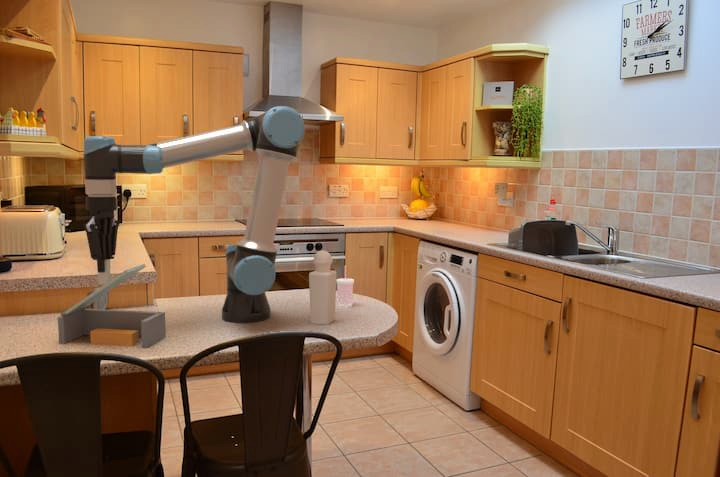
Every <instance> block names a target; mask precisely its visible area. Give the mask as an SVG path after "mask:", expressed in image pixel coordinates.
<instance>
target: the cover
mask: <svg viewBox="0 0 720 477" xmlns="http://www.w3.org/2000/svg"><path fill="white" fill-rule="evenodd" d="M146 267H147V266H146V264H145V263H144V264H143V263H142V264H140V265H137V266H134V267H130V268H127V269H126V270H123V271H122V272H121V273H119V274H118V275H116V276H115V277H113V278H111V281H109V282H108V283H106V284H102V285H101V286H102V287H100V288H99V289H97V290H96V291H94V292H93V293H91V294H90V295H89V296H87V295H86V296H87V297H86V296H85V298H83V299H81V300H80V301H78V302H77V303H75V304H74V305H72V306H71V307H69V308H68V309H67V310H65V311H62V312H61V313H60V316H62V317H66V316H68V315H71V314H73V313H76V312H79V311H81V310H84V309H86V308H87V306H89V305H90V304H92V303H93V302H94V301H96V300H97V299H99V298H100V297H102V296H103V295H105V294H106V293H108V292H109V293H110V292H111V291H112V290H114V289H115V288H116V287H118V286H120V285H121V284H122V283H124V282H125V281H127V280H128V279H130V278H132V277H133V276H135V275H136V274H137V273H138V272H140V271H142V270H143V269H144V268H146Z"/></svg>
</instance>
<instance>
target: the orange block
mask: <svg viewBox="0 0 720 477" xmlns="http://www.w3.org/2000/svg"><path fill="white" fill-rule="evenodd" d="M89 336H90V344H91V345H107V346H122V347H123V346H124V347H134V346H136V345H137V344H139V343H140V339H139V338H140V337H139V332H138V330H120V329H103V328H97V329H95V330H92V331H90V335H89Z"/></svg>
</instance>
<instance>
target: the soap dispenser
mask: <svg viewBox="0 0 720 477" xmlns="http://www.w3.org/2000/svg"><path fill="white" fill-rule="evenodd" d="M333 261H334V260H333V258H332V255H331V253H330V252H328V251H327V250H319V251H317V252H316V253H315V254H314V257H313V260H312V264H314V267H315V270H313V271H311V272H309V274H308V284H309V286H308V287H309V288H308V289H309V304H310V305H309V307H310V308H309V309H310V323H311V324H314V325H315V324H318V325H323V326H324V325H325V326H328V325H330V324H332V323H333V322H334V321H335V318H336V317H335V316H336V298H337V297H336V292H337V283H336V282H337V281H336V280H337V274H338V273H337V271H336V270H335V269H334V270H333V269H332V270H331V265H332V264H333Z"/></svg>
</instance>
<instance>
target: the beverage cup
mask: <svg viewBox="0 0 720 477" xmlns="http://www.w3.org/2000/svg"><path fill="white" fill-rule="evenodd" d="M354 283H355V279H354V278H347V265H346V264H345V265H344V278H343V277H342V278H341V277H340V278H336V290H337V304H338V305H339V306H345V307H344V308H348V307H347V306H351V305H352V306H353V296H354V295H353V292H354V291H353V290H354ZM338 305H337V306H338ZM339 306H338V307H339ZM352 306H351V307H352Z"/></svg>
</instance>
